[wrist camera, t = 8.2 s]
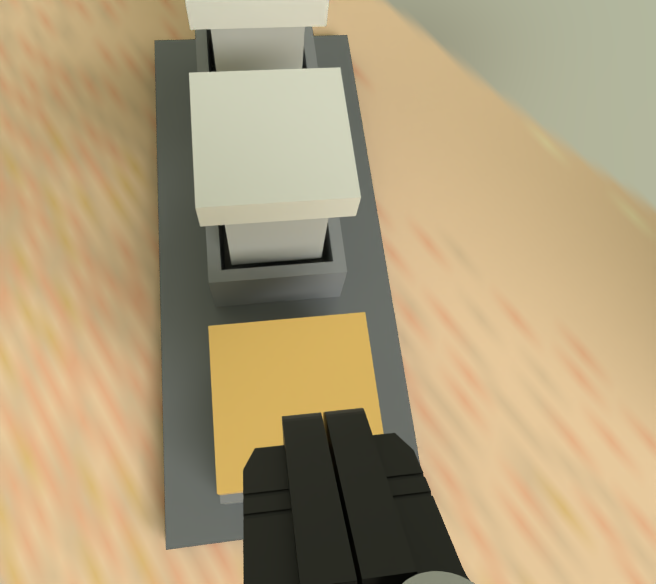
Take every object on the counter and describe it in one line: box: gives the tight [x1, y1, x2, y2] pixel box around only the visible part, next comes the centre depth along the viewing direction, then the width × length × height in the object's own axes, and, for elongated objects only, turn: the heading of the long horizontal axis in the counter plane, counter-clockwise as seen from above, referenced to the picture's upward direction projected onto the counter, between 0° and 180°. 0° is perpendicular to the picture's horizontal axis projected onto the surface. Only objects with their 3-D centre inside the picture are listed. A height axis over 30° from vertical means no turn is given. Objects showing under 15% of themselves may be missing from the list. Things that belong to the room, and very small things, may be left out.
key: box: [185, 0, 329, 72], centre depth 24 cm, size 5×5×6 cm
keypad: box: [155, 27, 420, 550], centre depth 25 cm, size 24×10×4 cm, turn 7°
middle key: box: [189, 67, 361, 265], centre depth 21 cm, size 5×5×6 cm
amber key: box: [208, 312, 384, 495], centre depth 20 cm, size 5×5×6 cm
